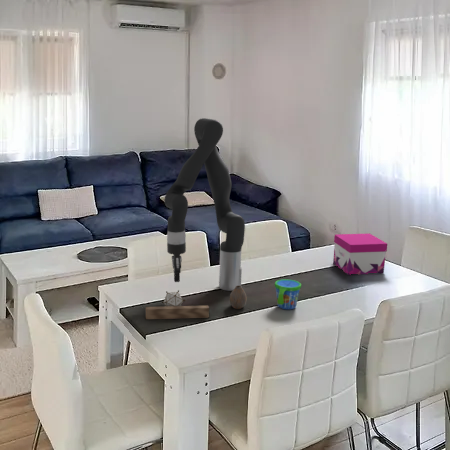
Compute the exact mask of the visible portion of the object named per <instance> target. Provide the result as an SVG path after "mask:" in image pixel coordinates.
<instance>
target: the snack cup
mask: <svg viewBox="0 0 450 450" xmlns="http://www.w3.org/2000/svg"><path fill="white" fill-rule="evenodd" d="M274 287H275V292H276V293H275V294H276V305H277V307H278V308H280V309H282V310H293V309H295V308H296V306H297V304H298V299H299V294H300V290H301V288H302V283H301V282H299V281H297V280H294V279H290V278H289V279H288V278H284V279H283V278H282V279H278V280H276V281H274Z"/></svg>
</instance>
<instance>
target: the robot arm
mask: <svg viewBox="0 0 450 450" xmlns="http://www.w3.org/2000/svg"><path fill="white" fill-rule="evenodd" d="M193 129H194V131H193V132H194V136H195V139H196V142H197V145H198V147H197V148H196V150H195V151H194V152H193V153H192V154H191V156H190V157H189V158H188V159H187V160H186V161H185V163H184V164H183V166H182V167H181V169H180V171H179V173H178V175H177V178H176V180H175V181H174V182H173V184H172V185H171V186H170V188H169V189H168V191H167V192H166V194H165V196H164V201H163V202H164V205H165V206H166V208H168V209H170V210H171V211H172V212H171V215H169V216H168V217H167V235H166V240H167V241H166V242H167V243H166V247H167V248H166V249H167V253H168V254H170V255H171V263H172V265H171V266H172V269H173V275H174V276H173V280H174V283H179V282H180V279H181V277H180V274H181V271H182V261H183V259H182V255H183V254H185V253H186V251H187V250H186V249H187V247H186V246H187V242H186V241H187V240H186V239H187V237H186V216H187V215H188V208H189V201H188V199H187V197H186V196H185V195H184V194H185V193H186V192H187V191H191V190H192V188H193V187H194V184H195V182H196V181H197V178H198V176H199V174H200V172H201V171H202V168H203V166H204V168H205V172H206V176H207V181H208V185H209V188H210V192H211V197H212V200H213V204H214V209H215V216H216V225H217V227H218V229H219V230H220V231H221V232H222V233H224V234H226V235H225V241H224V240H223V241H221V243H220V245H219V247H220V248H219V276H218V280H219V281H218V288H219V289H220V290H224V291H231V292H232V291H233V290H234V289H235V287H236V286H241V287H242V270H243V269H242V267H241V265H242V248H243V245H244V242H245V231H246V224H245V219H244V218H243V217H242V216H241V215H239V214H237V213H234V212H233V210H232V206H231V203H230V195H231V191H232V179H231V174H230V172H229V171H230V170H229V168H228V166H227V163H226V162H225V160H224V159H223V157H222V155H221V153H220V152H219V150H218V147H217V145H218V143H219V141H220V140H221V139H222V136H223V133H224V127H223V124H222V123H221V122H220V121H219V120H216V119H212V118H203V117H202V118H199V119H198V120H196V122H195V124H194V128H193Z"/></svg>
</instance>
